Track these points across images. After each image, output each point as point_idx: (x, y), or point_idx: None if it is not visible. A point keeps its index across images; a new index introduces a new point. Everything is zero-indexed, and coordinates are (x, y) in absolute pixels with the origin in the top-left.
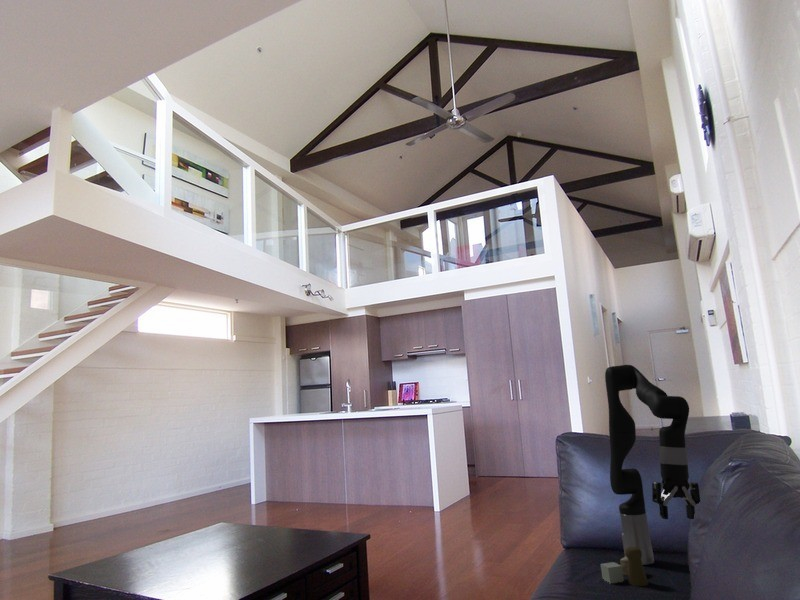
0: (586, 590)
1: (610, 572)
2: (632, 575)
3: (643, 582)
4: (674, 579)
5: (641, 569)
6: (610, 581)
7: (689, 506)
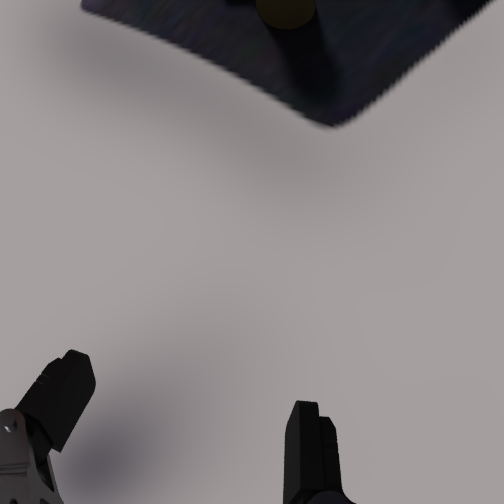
0: (132, 5)
1: None
2: (256, 1)
3: (282, 24)
4: (402, 42)
5: (283, 6)
6: None
7: (289, 499)
